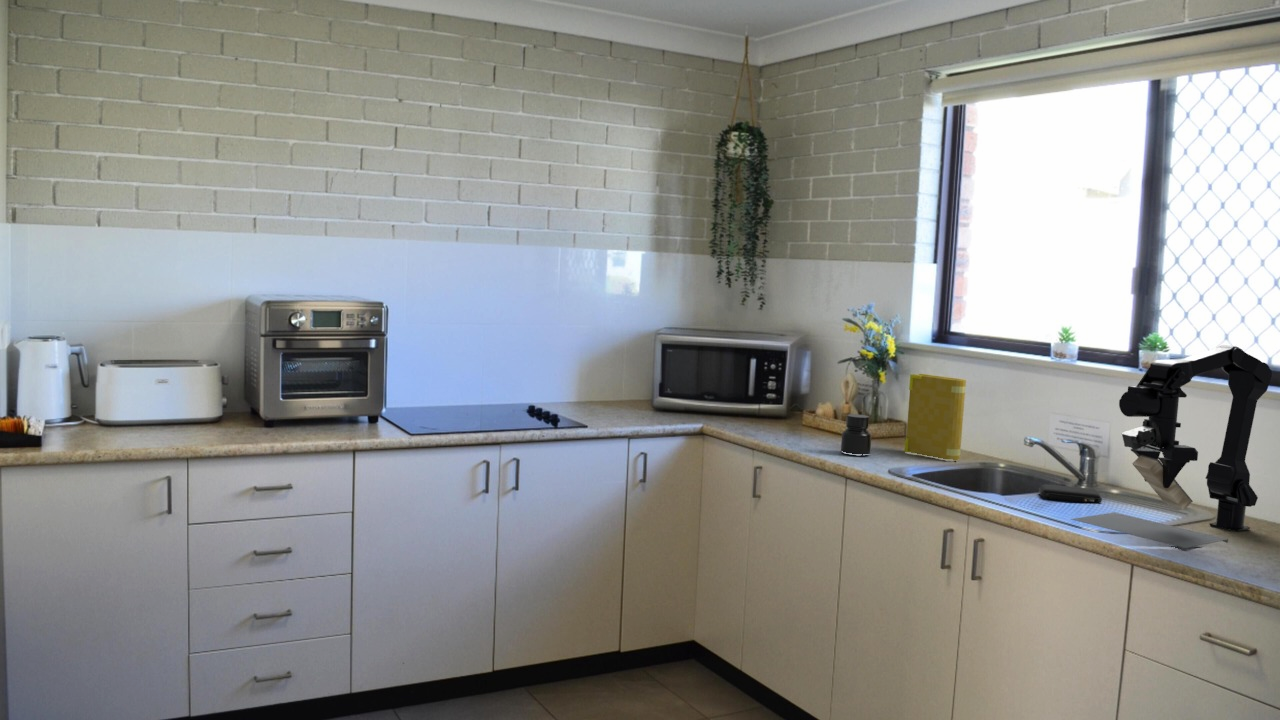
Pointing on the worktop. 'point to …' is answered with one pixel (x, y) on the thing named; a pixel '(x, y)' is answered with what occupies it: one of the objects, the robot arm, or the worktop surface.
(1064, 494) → the carrying case or bag
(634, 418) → the worktop surface
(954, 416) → the book
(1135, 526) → the mat
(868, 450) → the ink bottle
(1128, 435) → the robot arm
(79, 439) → the worktop surface
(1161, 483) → the tan wooden block
